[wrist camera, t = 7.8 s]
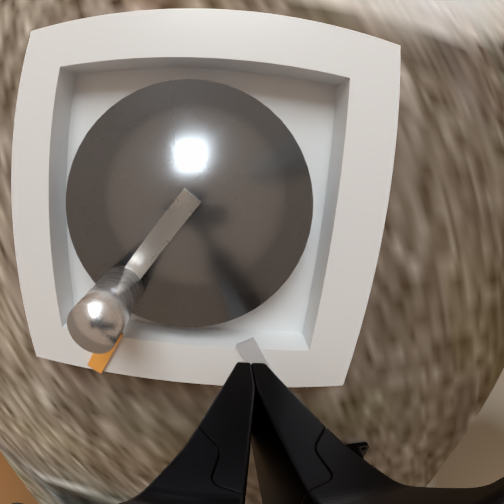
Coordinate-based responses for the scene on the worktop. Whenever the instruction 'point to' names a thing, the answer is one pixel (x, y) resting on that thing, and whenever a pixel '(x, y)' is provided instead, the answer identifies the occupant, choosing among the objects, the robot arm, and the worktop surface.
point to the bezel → (283, 106)
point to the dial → (184, 209)
